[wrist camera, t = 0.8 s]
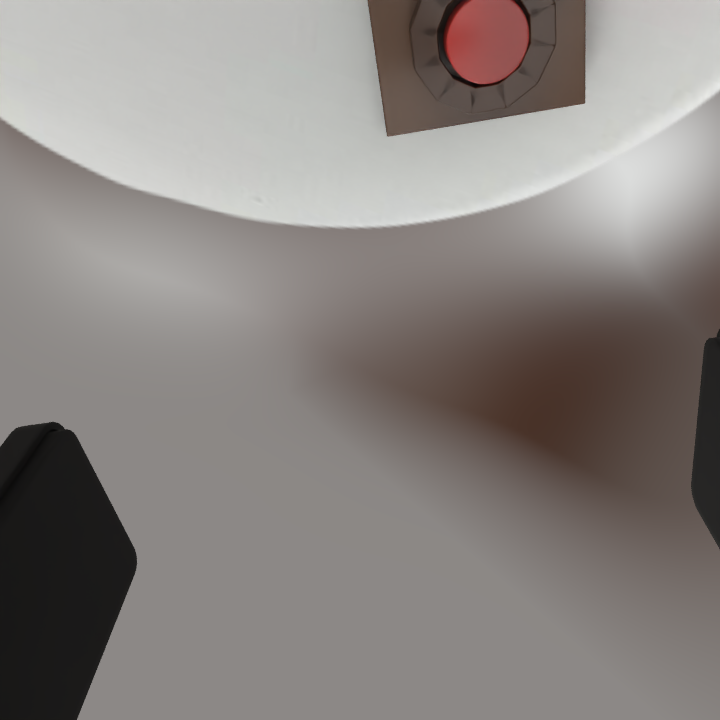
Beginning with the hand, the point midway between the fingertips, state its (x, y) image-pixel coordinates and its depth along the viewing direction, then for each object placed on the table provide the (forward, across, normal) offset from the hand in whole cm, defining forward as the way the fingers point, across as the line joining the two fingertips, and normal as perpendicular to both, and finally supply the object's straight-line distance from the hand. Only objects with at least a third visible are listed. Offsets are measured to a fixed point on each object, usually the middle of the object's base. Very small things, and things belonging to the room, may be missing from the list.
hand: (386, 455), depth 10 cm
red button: (+26, -5, -2) cm, 27 cm away
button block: (+30, -5, -2) cm, 30 cm away
